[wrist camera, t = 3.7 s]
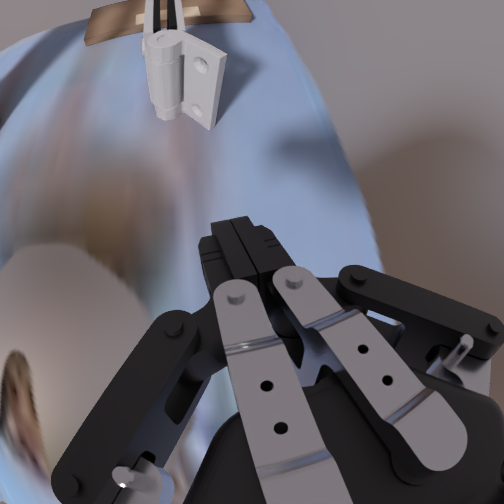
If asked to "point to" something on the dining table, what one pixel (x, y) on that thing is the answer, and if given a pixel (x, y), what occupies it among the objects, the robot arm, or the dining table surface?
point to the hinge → (180, 67)
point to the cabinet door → (132, 16)
